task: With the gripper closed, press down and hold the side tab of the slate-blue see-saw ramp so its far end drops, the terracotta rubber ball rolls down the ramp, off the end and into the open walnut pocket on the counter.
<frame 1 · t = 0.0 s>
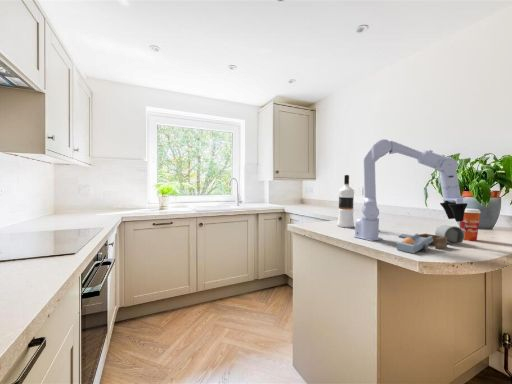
hand: (455, 220, 100), 11 cm above the countertop, tool pointing down, fingers open, 7 cm apart
ball: (408, 242, 91), point 3 cm above the countertop, tilted 9°, touching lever
pocket: (431, 245, 99), on the countertop
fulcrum: (414, 249, 93), on the countertop
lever: (407, 240, 95), point 3 cm above the countertop, hinge at 12.5°, touching ball
vodka: (345, 226, 142), on the countertop
ceramic mug: (445, 243, 105), on the countertop
paper cup: (468, 240, 112), on the countertop
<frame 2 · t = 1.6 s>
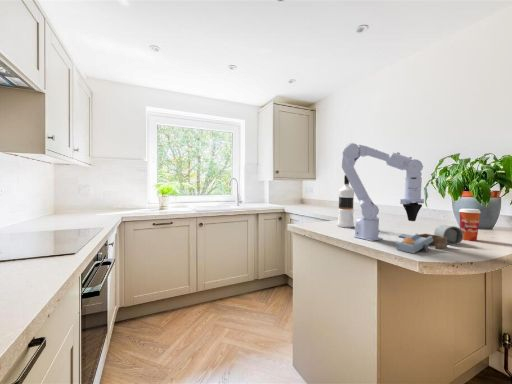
hand: (411, 220, 103), 9 cm above the countertop, tool pointing down, fingers closed
nothing on the countertop moved.
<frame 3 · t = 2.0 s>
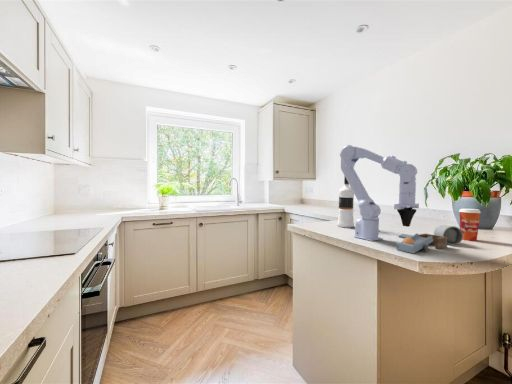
hand: (406, 226, 101), 8 cm above the countertop, tool pointing down, fingers closed
nothing on the countertop moved.
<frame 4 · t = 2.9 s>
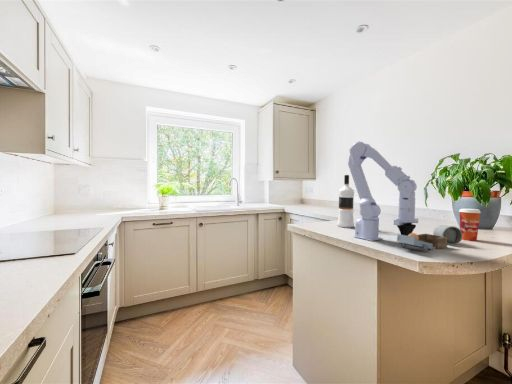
hand: (405, 241, 101), 1 cm above the countertop, tool pointing down, fingers closed, pressing on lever
ball: (413, 237, 92), point 5 cm above the countertop, tilted 84°, touching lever
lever: (408, 240, 95), point 3 cm above the countertop, hinge at -13.1°, touching ball, gripper
everything else where it was.
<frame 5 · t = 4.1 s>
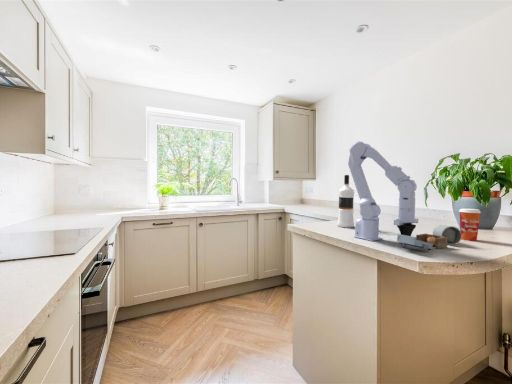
hand: (405, 241, 101), 1 cm above the countertop, tool pointing down, fingers closed
ball: (432, 241, 99), point 2 cm above the countertop, tilted 136°
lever: (408, 240, 95), point 3 cm above the countertop, hinge at -13.7°, touching gripper
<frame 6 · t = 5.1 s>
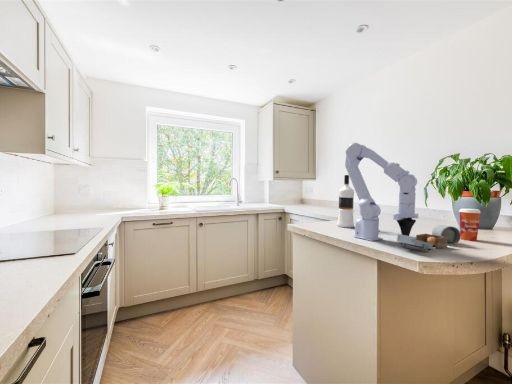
hand: (405, 236, 101), 3 cm above the countertop, tool pointing down, fingers closed
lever: (408, 240, 95), point 3 cm above the countertop, hinge at -13.7°
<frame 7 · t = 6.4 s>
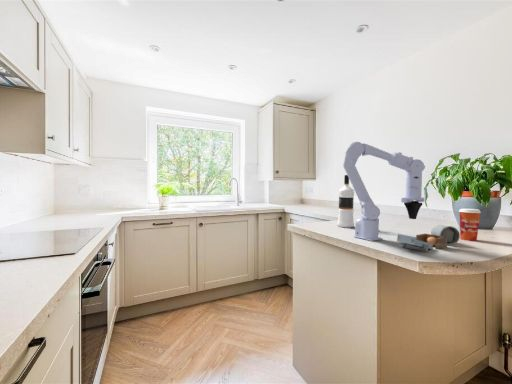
hand: (412, 218, 106), 10 cm above the countertop, tool pointing down, fingers closed
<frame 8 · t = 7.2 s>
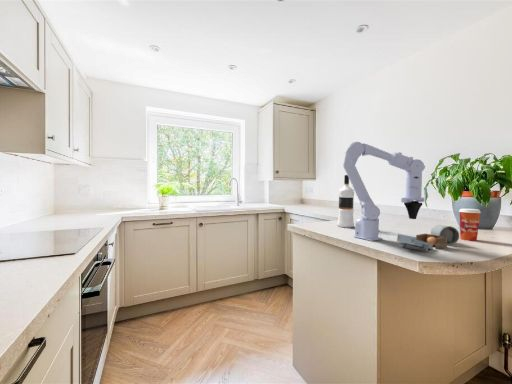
hand: (412, 218, 106), 10 cm above the countertop, tool pointing down, fingers closed
at the end: ball 1.0 cm off-centre on the pocket, point 1.8 cm above the pocket's base; ball moved 17.0 cm from its start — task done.
